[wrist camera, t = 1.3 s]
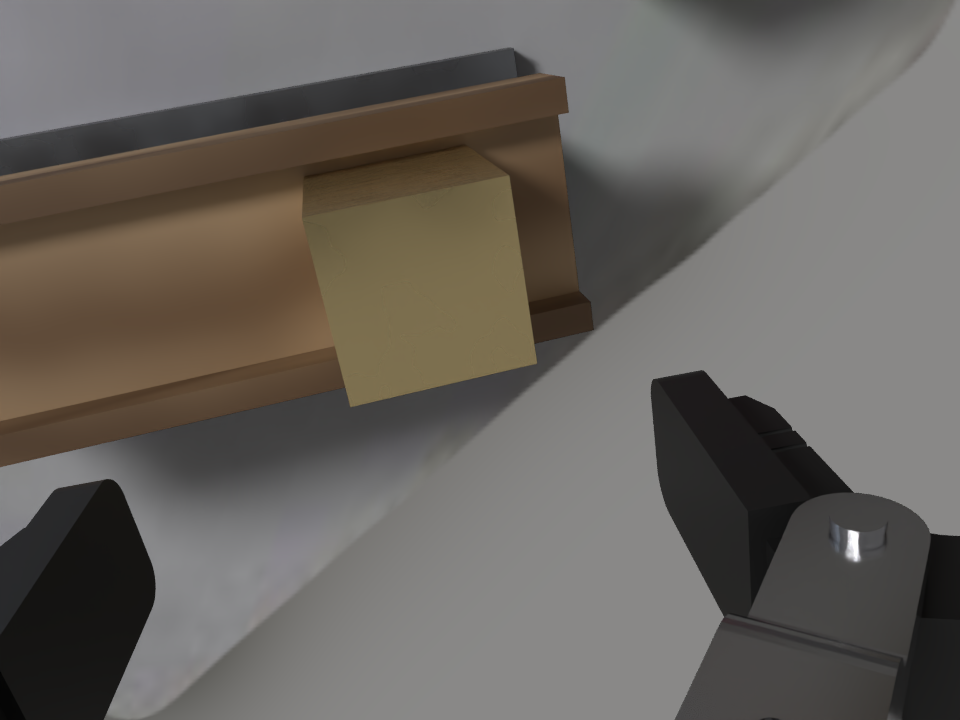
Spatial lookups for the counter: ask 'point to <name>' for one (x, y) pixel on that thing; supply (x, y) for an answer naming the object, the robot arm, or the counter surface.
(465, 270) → the brass block
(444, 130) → the seesaw beam
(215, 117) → the pivot stand
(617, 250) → the counter surface
